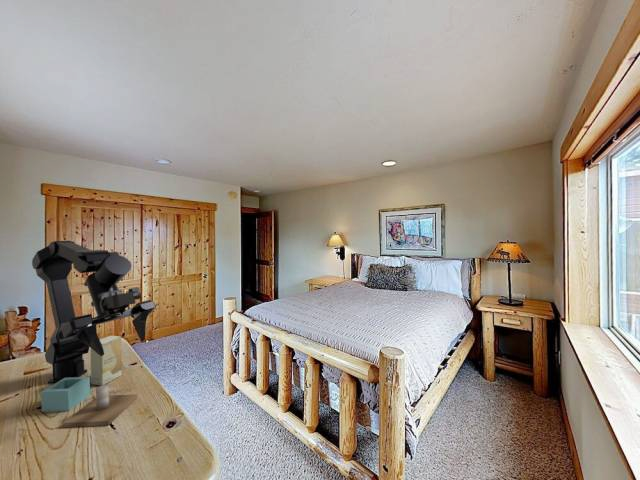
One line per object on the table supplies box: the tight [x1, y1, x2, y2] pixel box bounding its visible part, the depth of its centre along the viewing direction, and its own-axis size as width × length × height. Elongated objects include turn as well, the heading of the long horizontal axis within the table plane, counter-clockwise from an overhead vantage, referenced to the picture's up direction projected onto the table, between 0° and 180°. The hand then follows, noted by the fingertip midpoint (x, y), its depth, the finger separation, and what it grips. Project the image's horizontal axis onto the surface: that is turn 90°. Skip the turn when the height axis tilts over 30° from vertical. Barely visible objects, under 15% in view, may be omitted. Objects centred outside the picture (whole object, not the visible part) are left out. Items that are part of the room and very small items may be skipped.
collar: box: [40, 376, 91, 413], centre depth 68 cm, size 6×6×5 cm
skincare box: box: [90, 335, 123, 386], centre depth 79 cm, size 6×4×12 cm
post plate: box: [62, 384, 138, 428], centre depth 65 cm, size 10×10×6 cm
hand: (124, 347), depth 67 cm, fingers open, 9 cm apart
